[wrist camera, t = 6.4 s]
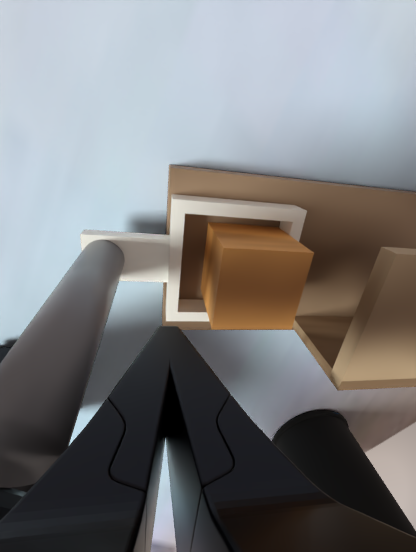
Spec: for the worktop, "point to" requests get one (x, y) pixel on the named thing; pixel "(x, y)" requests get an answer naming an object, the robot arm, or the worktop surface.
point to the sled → (95, 329)
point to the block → (252, 276)
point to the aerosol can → (339, 466)
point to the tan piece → (326, 269)
